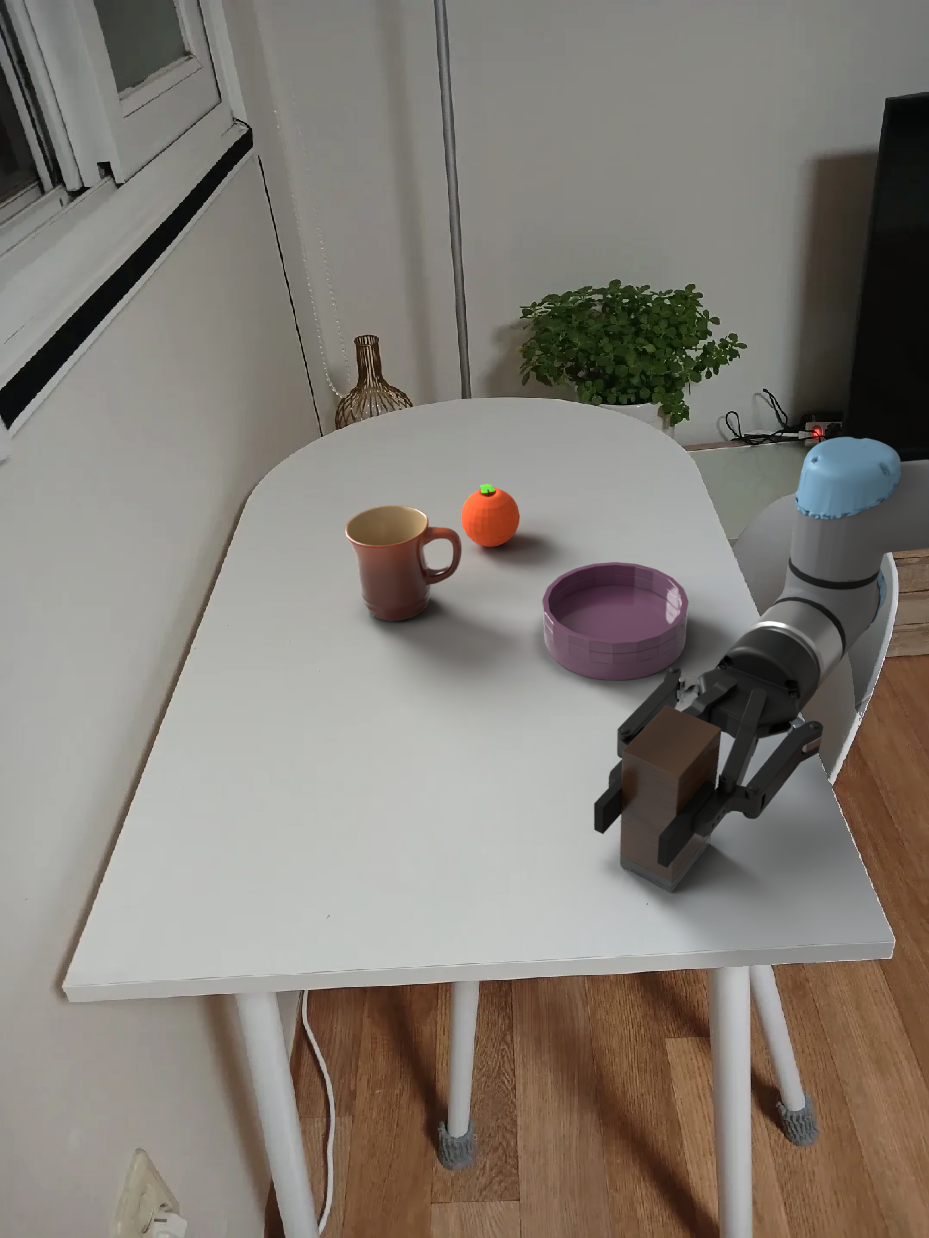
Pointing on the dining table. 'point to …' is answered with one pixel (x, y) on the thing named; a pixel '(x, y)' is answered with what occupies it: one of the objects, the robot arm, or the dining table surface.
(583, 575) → the bowl
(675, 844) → the robot arm
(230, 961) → the dining table surface
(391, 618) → the mug
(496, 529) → the clementine
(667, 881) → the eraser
